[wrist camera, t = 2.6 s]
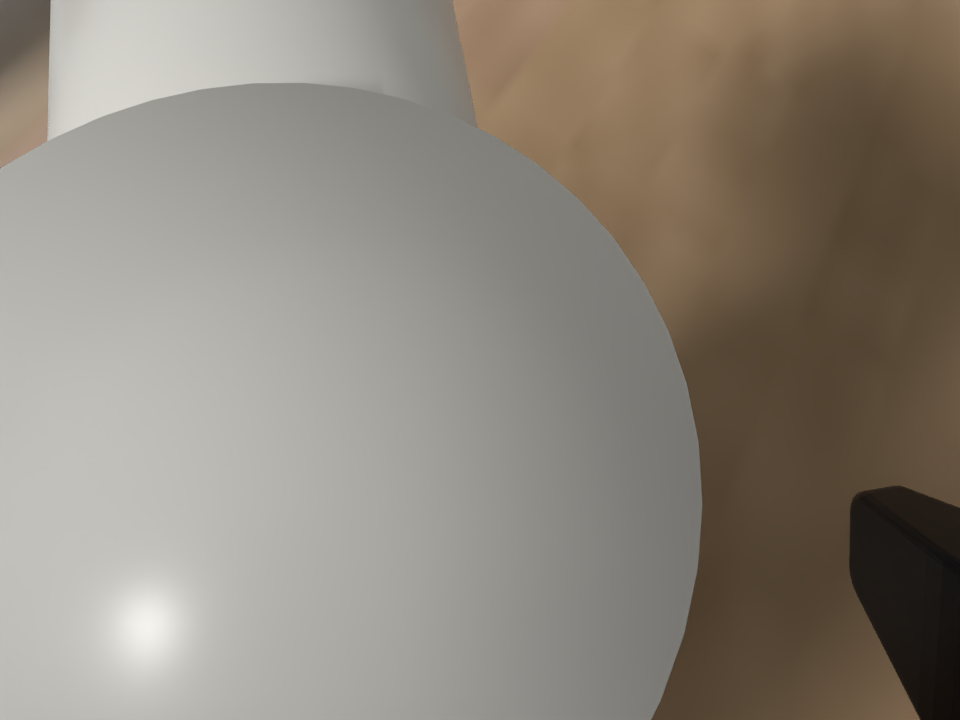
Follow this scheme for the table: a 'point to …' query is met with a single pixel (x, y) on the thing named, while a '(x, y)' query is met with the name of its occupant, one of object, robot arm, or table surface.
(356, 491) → the duct elbow
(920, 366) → the table surface
